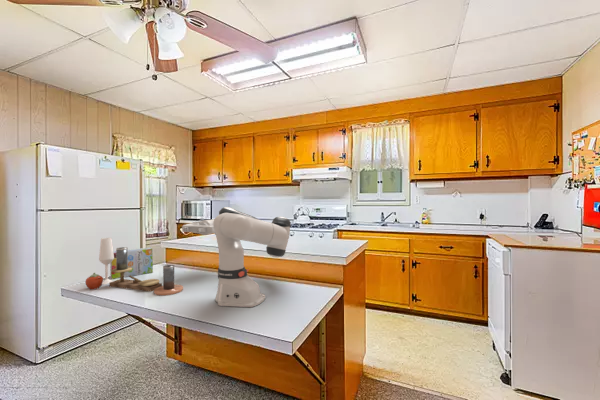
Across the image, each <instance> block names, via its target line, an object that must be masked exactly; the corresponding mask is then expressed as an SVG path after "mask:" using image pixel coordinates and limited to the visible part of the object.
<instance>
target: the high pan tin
mask: <svg viewBox="0 0 600 400" xmlns="http://www.w3.org/2000/svg"><path fill="white" fill-rule="evenodd" d="M128 250H129V249H128V247H127V246H126V247H123V246H121V247H116V250H115V251H116V270H126V269H128Z"/></svg>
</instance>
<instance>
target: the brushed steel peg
mask: <svg viewBox="0 0 600 400" xmlns="http://www.w3.org/2000/svg"><path fill="white" fill-rule="evenodd" d="M162 269H163V270H162V274H163V275H162V281H163V282H162V286H163V289H164V290H170V289H173V288H174V284H175V265H174V264H166V265H163V266H162Z"/></svg>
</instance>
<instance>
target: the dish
mask: <svg viewBox="0 0 600 400" xmlns="http://www.w3.org/2000/svg"><path fill="white" fill-rule="evenodd" d="M183 291H184V286H183V285H181V284H178V283H177V284H176V283H174V288H173V289H170V290H164V289H163V285H162V286H160V287H158V288H156V289H155V290H154V291H153V294H154V295H156V296H172V295H175V294H176V295H177V294H179V293H180V292H183Z"/></svg>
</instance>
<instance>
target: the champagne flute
mask: <svg viewBox="0 0 600 400" xmlns="http://www.w3.org/2000/svg"><path fill="white" fill-rule="evenodd" d="M112 240H113V238H112V237H102V238H101V239H100V246H99V255H98V256H99V257H98V261H99V262H100V263H101V264H103V265H104V267H105V268H104V269H105V270H104V273H105V278H104V279H103V283H102V285H108V284H107V283H110V282H113V281H114V280H113V279H109V265H110V263H111V262H112V261H113V259H114V254H113V251H114V247H113V241H112Z"/></svg>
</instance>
